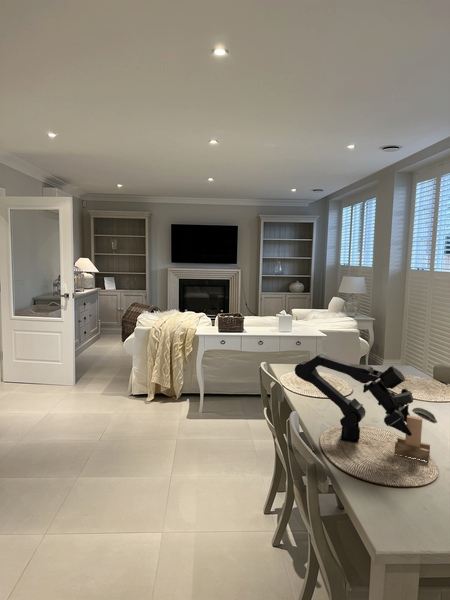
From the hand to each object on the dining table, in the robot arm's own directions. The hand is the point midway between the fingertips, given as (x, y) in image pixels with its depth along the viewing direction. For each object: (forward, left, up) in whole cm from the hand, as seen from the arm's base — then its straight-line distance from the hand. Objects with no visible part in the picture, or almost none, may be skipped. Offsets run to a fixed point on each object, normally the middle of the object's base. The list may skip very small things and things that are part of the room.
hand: (412, 430), depth 151 cm
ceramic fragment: (+11, +42, -10) cm, 45 cm away
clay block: (0, 0, -8) cm, 8 cm away
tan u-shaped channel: (0, 0, -9) cm, 9 cm away
